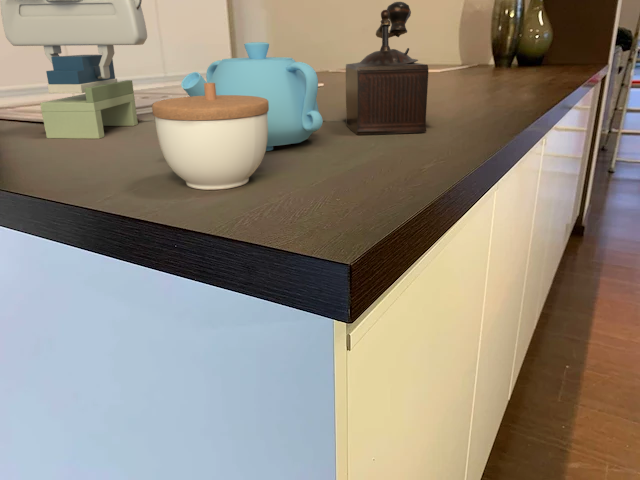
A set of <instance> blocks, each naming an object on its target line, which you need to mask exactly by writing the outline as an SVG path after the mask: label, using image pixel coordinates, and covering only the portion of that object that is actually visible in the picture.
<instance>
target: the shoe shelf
mask: <svg viewBox="0 0 640 480" xmlns="http://www.w3.org/2000/svg"><path fill="white" fill-rule="evenodd" d="M39 105H40V110H41V111H40V112H41V115H42V120H43V125H44V131H45V137H46V139H75V140H76V139H78V140H79V139H80V140H81V139H84V140H85V139H88V140H89V139H90V140H91V139H92V140H93V139H94V140H95V139H96V140H97V139H99V140H100V139H102V138H105V131H104V127H118V126H119V127H136V126H138V125H139V122H138V121H139V120H138V114H137V107H136V100H135V92H134V85H133V80H131V79H129V80H128V79H127V80H121V81H117V82H115V83H109V84H104V85H98V86H93V87H87V88H85V93H80V94H77V95H72V96H67V97H61V98H57V99H52V100H47V101H42V102H39Z"/></svg>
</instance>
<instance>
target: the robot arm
mask: <svg viewBox="0 0 640 480" xmlns="http://www.w3.org/2000/svg"><path fill="white" fill-rule="evenodd" d="M142 2H143V1H142V0H0V14H1V15H0V16H1V21H2V27H3V32H4V36H5V38H6V40H7V41H8V42H9V43H10V44H11V45H12V46H14V47H31V46H32V47H33V46H34V47H40V46H41V47H43V50H44V55H45V57H46V58H47V59H48V60H49V62H50V63H51V64H52V59H51V57H57V56H60V54H62V46H63V47H64V46H65V47H66V46H67V47H69V46H97V51H98V55H102V58H101V61H100V64H99V66H94V71H95V72H96V73H95V77H96V78H97V79H107V78H110V71H109V65H110V63H111V61H112V59H113V58H114V55H115V46H141V45H144V44H145V43H146V41H147V39H148V30H147V24H146V19H145V15H144V12H143V8H142Z"/></svg>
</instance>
